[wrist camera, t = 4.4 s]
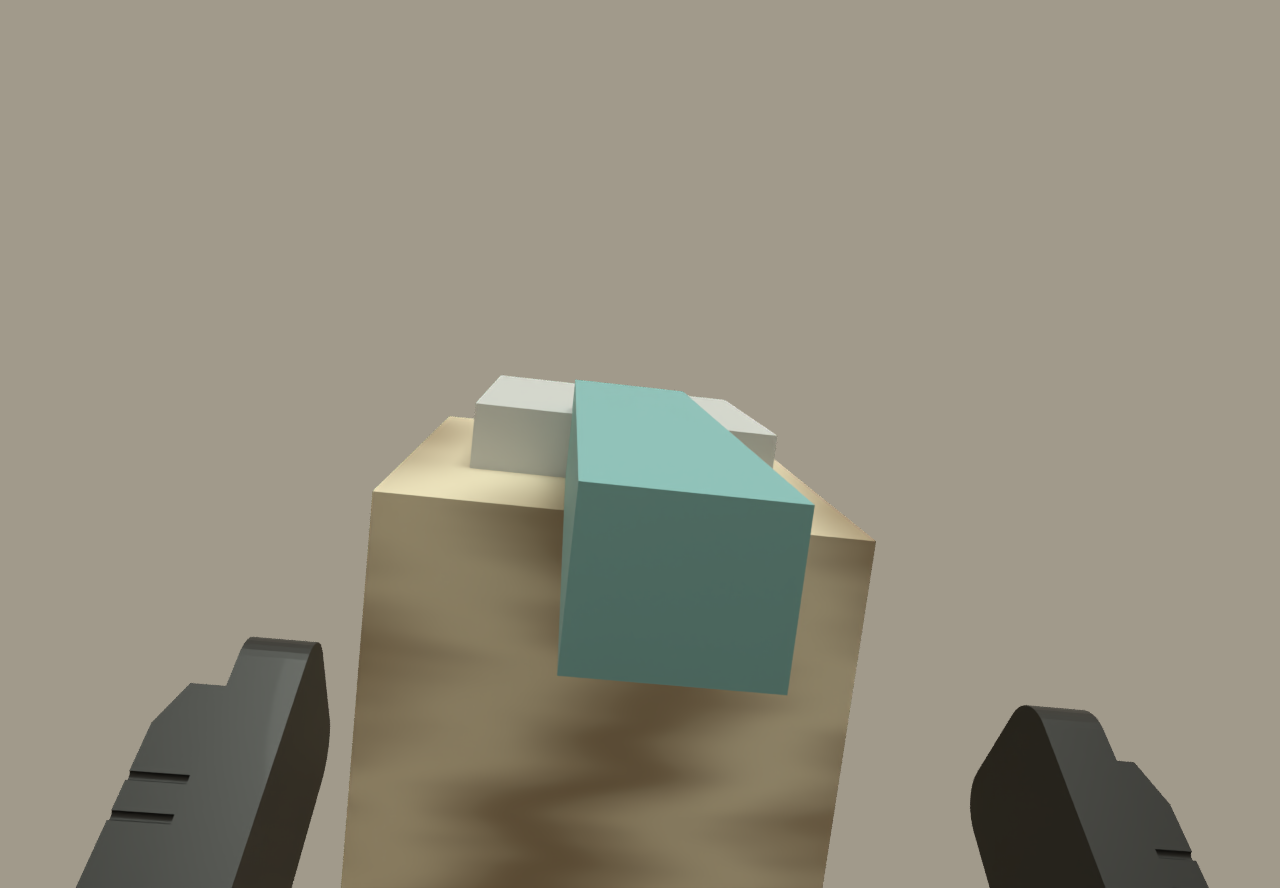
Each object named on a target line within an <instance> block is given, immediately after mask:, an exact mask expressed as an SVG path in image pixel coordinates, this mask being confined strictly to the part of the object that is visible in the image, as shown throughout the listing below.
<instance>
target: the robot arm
mask: <svg viewBox="0 0 1280 888" xmlns="http://www.w3.org/2000/svg"><path fill="white" fill-rule="evenodd" d="M329 736H330V718H329V709H328V699H327V690H326V680H325V670H324V661H323V652H322V647H321V644H320V643H318V642H307V641H295V640H283V639H272V638H259V637H250V638H249V639H248V640H247V641H246V642H245V643H244V645H243V647H242V649H241V651H240V653H239V656H238V658H237V660H236V663H235V665H234V668H233V670H232V673H231V675H230V678H229V680H228V683H227V685H226V686H219V685H207V684H193V683H190V684H189V685H188V686H187V687H186V688H185V689H184V690H183V691H182V692H181V693H180V694H179V695H178V696H177V697H176V699H174V700H173V701H172V703H171V704H169V706H168V707H167V708H166V709H165V710H164V711H163V712H162V713H161V714H160V715H159V716H158V717H157V718H156V719H155V720H154V721H153V722H152V723H151V725H150V727H149V729H148V731H147V734H146V736H145V738H144V740H143V742H142V745H141V747H140V749H139V751H138V753H137V755H136V758H135V760H134V762H133V764H132V766H131V769H130V775H129V778H128V780H125V782H124V784H123V786H122V788H121V790H120V793H119V795H118V797H117V799H116V801H115V803H114V806H113V808H112V815H111V817H110V819H109V820H107V821H106V823H105V826H104V828H103V830H102V832H101V834H100V836H99V838H98V841H97V843H96V845H95V847H94V850H93V852H92V854H91V856H90V858H89V860H88V862H87V864H86V867H85V869H84V871H83V873H82V875H81V878H80V880H79V882H78V884H77V886H76V888H292V884H293V881H294V877H295V874H296V870H297V866H298V863H299V859H300V856H301V852H302V849H303V845H304V842H305V838H306V834H307V831H308V828H309V824H310V821H311V817H312V814H313V810H314V806H315V803H316V799H317V796H318V792H319V789H320V785H321V782H322V778H323V774H324V770H325V765H326V760H327V753H328V747H329ZM970 812H971V820H972V826H973V830H974V834H975V837H976V841H977V845H978V848H979V852H980V855H981V859H982V862H983V866H984V869H985V873H986V876H987V880H988V883H989V887H990V888H1208V885H1207V883H1206V881H1205V879H1204V877H1203V875H1202V873H1201V870H1200V868H1199V866H1198V864H1197V862H1196V861H1193V860H1192V858H1191V852H1192V851H1191V849H1190V847H1189V844H1188V842H1187V840H1186V838H1185V836H1184V834H1183V831H1182V829H1181V827H1180V825H1179V823H1178V821H1177V819H1176V816H1175V814H1174V812H1173V810H1172V808H1171V806H1170V804H1169V803H1168V802H1167V800H1166V799H1165V798H1164V797H1163V796H1162V795H1161V793H1160V792H1159V791H1158V790H1157V789H1156V788H1155V786H1154V785H1153V784H1152V783H1151V782H1150V780H1149V779H1148V778H1147V777H1146V776H1145V775H1144V773H1143V772H1142V771H1141V770H1140V769H1139V768H1138V766H1137V765H1136V764H1135V763H1134V762H1123V761H1117V760H1116V758H1115V756H1114V753H1113V751H1112V749H1111V746H1110V744H1109V742H1108V739H1107V737H1106V735H1105V733H1104V730H1103V728H1102V726H1101V724H1100V723H1099V721H1098V720H1097V719H1096V717H1095V716H1094V715H1093V714H1091V713H1090V712H1088V711H1085V710H1075V709H1063V708H1051V707H1039V706H1027V705H1024V706H1021V707H1019V708H1018V709H1017V710H1015V712H1014V713H1013V715H1012V716H1011V718H1010V720H1009V721H1008V723H1007V724H1006V726H1005V728H1004V729H1003V731H1002V733H1001V734H1000V736H999V738H998V739H997V741H996V742H995V744H994V746H993V747H992V749H991V751H990V752H989V754H988V756H987V757H986V759H985V761H984V762H983V764H982V766H981V767H980V769H979V770H978V772H977V774H976V776H975V778H974V781H973V784H972V789H971V798H970Z"/></svg>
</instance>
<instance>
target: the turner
mask: <svg viewBox="0 0 1280 888" xmlns="http://www.w3.org/2000/svg"><path fill="white" fill-rule="evenodd" d="M776 441H777V435H775V434H774V433H772V432H771V431H770V430H768V429H766V428H765V427H764V426H762V425H761V424H759V423H758V422H756V421H755V420H753V419H752V418H750V417H749V416H747V415H746V414H744V413H743V412H742V411H740V410H739V409H737V408H736V407H734V406H733V405H731V404H730V403H728V402H727V401H725V400H720V399H710V398H702V397H692V396H688V395H686V394H685V393H684V392H682V391H672V390H664V389H655V388H646V387H636V386H627V385H619V384H609V383H601V382H592V381H583V380H575V383H566V382H557V381H548V380H547V381H546V380H539V379H529V378H519V377H511V376H503V375H501V376H500V377H499V378H498V379H497V380H496V382H495V383H494V384H493V385H492V386H491V387H490V388H489V389H488V390H487V391H486V392H485V394H484V395H483V396H482V397H481V398H480V399H479V400H478V401H477V402H476V406H475V417H474V426H473V437H472V448H471V459H470V468H475V469H485V470H495V471H504V472H514V473H524V474H534V475H544V476H553V477H563V478H565V497H564V521H563V545H562V569H561V594H560V618H559V642H558V667H557V676H566V677H578V678H590V679H601V680H613V681H625V682H636V683H648V684H660V685H672V686H683V687H695V688H707V689H718V690H730V691H742V692H754V693H765V694H777V695H787V694H788V687H789V680H790V674H791V667H792V660H793V653H794V646H795V639H796V632H797V625H798V618H799V611H800V604H801V597H802V591H803V584H804V577H805V570H806V563H807V556H808V549H809V542H810V535H811V528H812V521H813V515H814V508H815V505H814V504H813V503H812V502H811V501H809V500H808V499H807V498H806V497H805V496H804V495H802V494H801V493H800V492H799V491H798V490H797V489H796V488H794V487H793V486H792V485H791V484H790V483H789V482H787V481H786V480H785V479H784V478H783V477H782V476H780V475H779V474H778V473H777V472H776V471H775V470H773V464H774V456H775V449H776Z"/></svg>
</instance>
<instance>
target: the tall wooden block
mask: <svg viewBox="0 0 1280 888" xmlns="http://www.w3.org/2000/svg"><path fill="white" fill-rule="evenodd" d="M473 426H474V419H470V418H461V417H452V416H449V417H448V419H446V420H445V421H444V422H443V423H442V424H441V425H440V426H439V427H438V428H437V429H436V430H435V431H434V432H433V433H432V434H431V435H430V436H429V437H428V438H427V439H426V440H425V441H424V442H423V443H422V444H421V445H420V446H419V447H418V448H417V449H415V450H414V451H413V452H412V453H411V454H410V455H409V456H408V457H407V458H406V459H405V460H404V461H403V462H402V463H401V464H400V465H399V466H398V467H397V468H396V469H395V470H394V471H393V472H392V473H391V474H390V475H389V476H388V477H387V478H386V479H385V480H384V481H383V482H382V483H381V484H380V485H378V486H377V487H376V488H375V489H374V490H373V492H372V505H371V517H370V530H369V542H368V555H367V568H366V581H365V593H364V606H363V618H362V630H361V643H360V655H359V668H358V681H357V694H356V707H355V718H354V731H353V743H352V756H351V768H350V781H349V794H348V807H347V819H346V831H345V844H344V856H343V869H342V881H341V888H822V887H823V881H824V874H825V868H826V861H827V855H828V849H829V842H830V836H831V829H832V823H833V816H834V810H835V803H836V797H837V790H838V784H839V776H840V771H841V764H842V758H843V751H844V745H845V738H846V732H847V725H848V718H849V712H850V706H851V699H852V693H853V687H854V679H855V674H856V667H857V660H858V654H859V647H860V641H861V635H862V628H863V622H864V614H865V608H866V602H867V596H868V589H869V583H870V576H871V570H872V563H873V556H874V551H875V543H876V541H875V540H874V539H872V538H871V537H870V536H869V535H867V534H866V533H865V532H863V531H862V530H861V529H860V528H859V527H858V526H856V525H855V524H854V523H852V522H851V521H850V520H849V519H848V518H846V517H845V516H844V515H843V514H841V513H840V512H839V511H838V510H836V509H835V508H834V507H833V506H832V505H830V504H829V503H828V502H827V501H825V500H824V499H823V498H821V497H820V496H819V495H818V494H817V493H815V492H814V491H813V490H812V489H810V488H809V487H808V486H807V485H805V484H804V483H803V482H802V481H801V480H799V479H798V478H797V477H795V476H794V475H793V474H792V473H790V472H789V471H788V470H787V469H786V468H784V467H783V466H782V465H781V464H780V463H778V462H777V461H776V460H775V459H774V464H773V470H775V471H776V472H777V473H778V474H779V475H780V476H782V477H783V478H784V479H785V480H786V481H787V482H789V483H790V484H791V485H792V486H793V487H794V488H796V489H797V490H798V491H799V492H800V493H801V494H802V495H804V496H805V497H806V498H807V499H808V500H809V501H811V502H812V503H813V504H814V505H815V508H814V515H813V521H812V528H811V535H810V542H809V549H808V556H807V563H806V570H805V577H804V584H803V591H802V597H801V604H800V611H799V618H798V625H797V632H796V639H795V646H794V653H793V660H792V667H791V674H790V680H789V687H788V694H787V695H777V694H765V693H754V692H742V691H730V690H718V689H707V688H695V687H683V686H672V685H660V684H648V683H636V682H625V681H613V680H601V679H590V678H578V677H566V676H557V667H558V642H559V618H560V594H561V569H562V545H563V521H564V497H565V478H563V477H553V476H544V475H534V474H524V473H514V472H504V471H495V470H485V469H475V468H470V459H471V448H472V437H473Z"/></svg>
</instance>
